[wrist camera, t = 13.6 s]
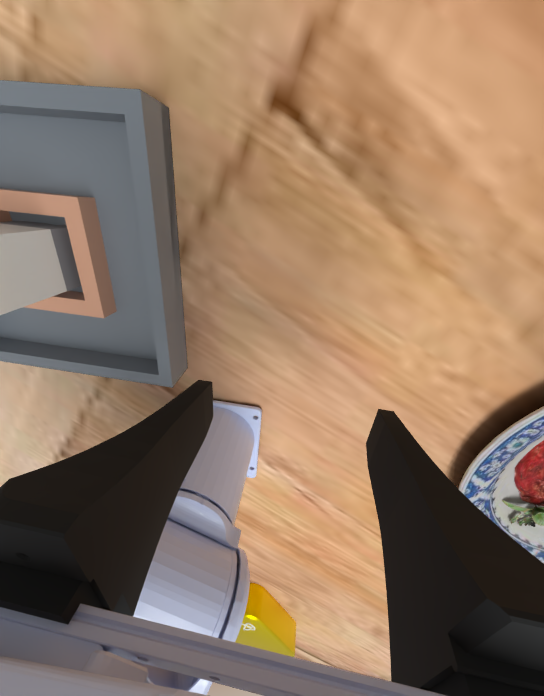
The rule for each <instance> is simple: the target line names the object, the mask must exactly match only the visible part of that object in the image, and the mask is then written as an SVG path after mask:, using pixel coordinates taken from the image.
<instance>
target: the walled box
mask: <svg viewBox="0 0 544 696" xmlns="http://www.w3.org/2000/svg"><path fill="white" fill-rule="evenodd" d="M8 221H29V222H38V223H46V224H55V225H64V226H67V229H68V233H69V237H70V242H71V246H72V250H73V254H74V258H75V262H76V266H77V270H78V274H79V278H80V282H81V286H80V287H77V288H75V289H72V290H69V291H66V292H63V293H61V294H58V295H55V296H52V297H50V298H47V299H44V300H41V301H39V302H36V303H33V304H30V305H27V306H25V307H22V308H19V309H16V310H14V311H11V312H8V313H5V314H3V315H0V361H4V362H11V363H17V364H24V365H30V366H36V367H43V368H49V369H56V370H62V371H69V372H75V373H82V374H88V375H95V376H101V377H108V378H114V379H120V380H127V381H133V382H140V383H146V384H153V385H159V386H166V387H172V388H173V386H174V385H175V384H176V382H177V381H178V380H179V378H180V377H181V376H182V374H183V373H184V372H185V371H186V369H187V368H188V366H187V353H186V339H185V325H184V312H183V298H182V284H181V270H180V257H179V243H178V229H177V215H176V202H175V188H174V174H173V161H172V147H171V133H170V119H169V108H168V107H167V106H165V105H164V104H162V103H161V102H159V101H157V100H156V99H154V98H153V97H151V96H150V95H148V94H147V93H145V92H143V91H142V90H140V89H125V88H110V87H95V86H80V85H65V84H50V83H35V82H19V81H4V80H0V222H8Z"/></svg>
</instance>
